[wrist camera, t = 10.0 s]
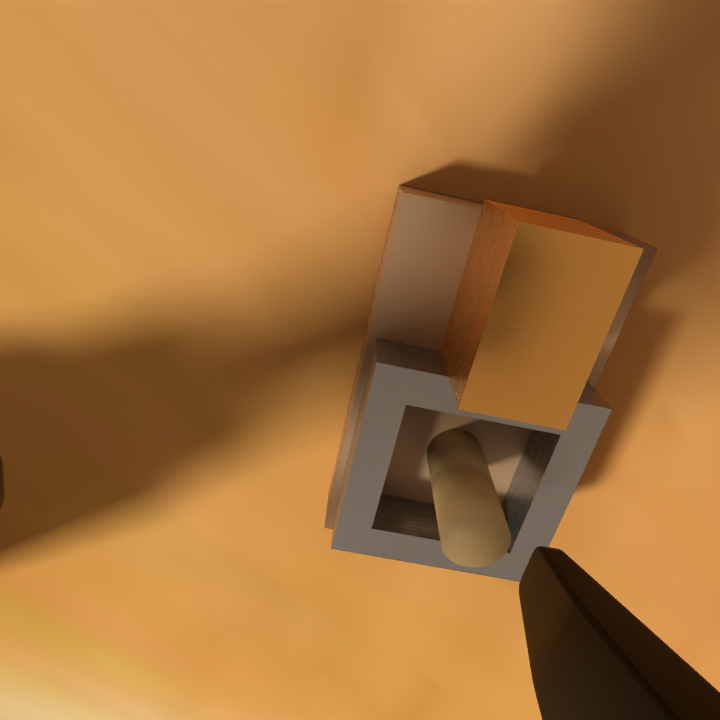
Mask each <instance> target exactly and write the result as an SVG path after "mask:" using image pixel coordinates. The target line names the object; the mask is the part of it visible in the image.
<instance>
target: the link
mask: <svg viewBox="0 0 720 720" xmlns="http://www.w3.org/2000/svg"><path fill="white" fill-rule="evenodd" d="M643 250H644V249H643V248H641V247H638V246H636V245H634V244H632V243H630V242H627V241H625V240H623V239H621V238H618V237H616V236H614V235H612V234H610V233H607V232H605V231H603V230H601V229H599V228H596V227H594V226H592V225H590V224H588V223H585V222H583V221H581V220H576V219H572V218H567V217H563V216H558V215H554V214H549V213H545V212H540V211H536V210H531V209H527V208H522V207H518V206H513V205H509V204H504V203H500V202H495V201H491V200H486V199H485V201H484V204H483V207H482V211H481V214H480V218H479V221H478V224H477V228H476V231H475V234H474V238H473V241H472V245H471V248H470V251H469V255H468V258H467V262H466V265H465V268H464V272H463V275H462V279H461V282H460V285H459V289H458V292H457V295H456V299H455V302H454V306H453V309H452V312H451V316H450V319H449V323H448V326H447V329H446V333H445V336H444V340H443V343H442V346H441V350H440V351H439V350H434V349H429V348H424V347H419V346H414V345H410V344H405V343H400V342H395V341H390V340H385V339H380V338H376V340H375V344H374V348H373V353H372V357H371V361H370V365H369V369H368V374H367V378H366V382H365V386H364V390H363V395H362V399H361V403H360V407H359V411H358V416H357V420H356V424H355V428H354V432H353V437H352V441H351V445H350V449H349V453H348V458H347V462H346V466H345V470H344V474H343V479H342V483H341V487H340V491H339V495H338V500H337V504H336V508H335V514H334V525H333V535H332V545H331V549H336V550H342V551H348V552H353V553H359V554H365V555H370V556H376V557H382V558H387V559H393V560H399V561H404V562H410V563H416V564H422V565H427V566H433V567H439V568H444V569H450V570H456V571H461V572H467V573H473V574H479V575H484V576H490V577H496V578H501V579H507V580H513V581H518V582H520V580H521V577H522V575H523V573H524V571H525V568H526V566H527V564H528V562H529V560H530V557H531V555H532V553H533V551H534V549H535V548H537V547H539V546H544V547H549V545H550V543H551V540H552V538H553V536H554V534H555V532H556V530H557V527H558V525H559V523H560V521H561V519H562V517H563V515H564V512H565V510H566V508H567V506H568V504H569V502H570V499H571V497H572V495H573V493H574V491H575V489H576V486H577V484H578V482H579V480H580V478H581V476H582V474H583V471H584V469H585V467H586V465H587V463H588V461H589V458H590V456H591V454H592V452H593V450H594V448H595V446H596V443H597V441H598V439H599V437H600V435H601V433H602V430H603V428H604V426H605V424H606V422H607V420H608V418H609V415H610V413H611V411H612V409H611V407H610V406H609V405H608V404H607V403H606V402H605V400H604V399H603V398H602V397H601V396H600V394H599V393H598V392H597V391H596V390H595V389H594V387H593V386H592V385H591V384H590V383H589V381H587V380H588V377H589V375H590V373H591V371H592V368H593V366H594V364H595V361H596V359H597V357H598V354H599V352H600V350H601V347H602V345H603V343H604V340H605V338H606V336H607V333H608V331H609V329H610V326H611V324H612V322H613V319H614V317H615V315H616V312H617V310H618V308H619V305H620V303H621V301H622V298H623V296H624V294H625V292H626V289H627V287H628V285H629V282H630V280H631V278H632V275H633V273H634V271H635V268H636V266H637V264H638V261H639V259H640V257H641V254H642V252H643ZM406 405H410V406H415V407H421V408H426V409H431V410H436V411H441V412H446V413H451V414H456V415H462V416H467V417H472V418H477V419H482V420H487V421H492V422H497V423H503V424H508V425H513V426H518V427H523V428H528V429H532V431H531V433H530V436H529V438H528V441H527V443H526V446H525V448H524V451H523V453H522V456H521V458H520V461H519V463H518V466H517V468H516V471H515V473H514V476H513V478H512V481H511V483H510V486H509V488H508V491H507V493H506V496H505V498H504V501H503V503H502V506H501V507H502V510H503V513H504V516H505V519H506V522H507V525H508V527H509V530H510V533H511V544H510V547H509V549H508V551H507V552H506V554H505V555H504V556H503V557H502V558H501V559H499V560H498V561H496V562H494V563H492V564H490V565H487V566H483V567H465V566H461V565H458V564H456V563H454V562H452V561H451V560H450V559H449V558H448V557H447V556H446V555H445V554H444V552H443V550H442V546H441V540H440V534H439V528H438V522H437V516H436V510H435V504H434V503H429V502H423V501H418V500H413V499H407V498H402V497H396V496H391V495H385V494H381V493H382V489H383V486H384V482H385V478H386V475H387V471H388V468H389V464H390V461H391V457H392V453H393V450H394V446H395V443H396V439H397V435H398V432H399V428H400V425H401V421H402V417H403V414H404V410H405V407H406Z"/></svg>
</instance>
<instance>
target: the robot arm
mask: <svg viewBox="0 0 720 720" xmlns="http://www.w3.org/2000/svg"><path fill="white" fill-rule="evenodd" d="M4 496H5V490H4V474H3V461H2V458H1V456H0V509H1V507H2V505H3V501H4ZM519 596H520V603H521V609H522V616H523V622H524V629H525V635H526V642H527V648H528V655H529V661H530V668H531V673H532V679H533V684H534V688H535V693H536V697H537V701H538V705H539V709H540V712H541V716H542V720H720V692H719V691H718V690H717V689H715V688H714V687H713V686H712V685H711V684H710V683H709V682H708V681H707V680H705V679H704V678H703V677H702V676H701V675H700V674H699V673H698V672H697V671H695V670H694V669H693V668H692V667H691V666H690V665H689V664H688V663H687V662H685V661H684V660H683V659H682V658H681V657H680V656H679V655H678V654H677V653H675V652H674V651H673V650H672V649H671V648H670V647H669V646H668V645H667V644H665V643H664V642H663V641H662V640H661V639H660V638H659V637H658V636H657V635H655V634H654V633H653V632H652V631H651V630H650V629H649V628H648V627H647V626H645V625H644V624H643V623H642V622H641V621H640V620H639V619H638V618H637V617H635V616H634V615H633V614H632V613H631V612H630V611H629V610H628V609H627V608H625V607H624V606H623V605H622V604H621V603H620V602H619V601H618V600H617V599H615V598H614V597H613V596H612V595H611V594H610V593H609V592H608V591H607V590H605V589H604V588H603V587H602V586H601V585H600V584H599V583H598V582H597V581H595V580H594V579H593V578H592V577H591V576H590V575H589V574H588V573H587V572H585V571H584V570H583V569H582V568H581V567H580V566H579V565H578V564H577V563H575V562H574V561H573V560H572V559H571V558H570V557H569V556H568V555H567V554H565V553H564V552H563V551H562V550H560V549H556V548H550V547H544V546H539V547H537V548H535V549H534V551H533V553H532V555H531V557H530V560H529V562H528V564H527V566H526V568H525V571H524V573H523V575H522V577H521V580H520V584H519Z"/></svg>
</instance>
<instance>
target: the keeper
mask: <svg viewBox="0 0 720 720" xmlns="http://www.w3.org/2000/svg"><path fill="white" fill-rule="evenodd" d="M482 207H483V204H482V203H478V202H473V201H469V200H464V199H460V198H455V197H451V196H446V195H442V194H437V193H433V192H428V191H424V190H419V189H415V188H410V187H406V186H401V185H399V189H398V193H397V198H396V202H395V206H394V211H393V215H392V219H391V224H390V228H389V233H388V237H387V241H386V246H385V250H384V254H383V259H382V263H381V268H380V272H379V276H378V281H377V285H376V289H375V294H374V298H373V303H372V307H371V311H370V316H369V320H368V324H367V329H366V333H365V338H364V342H363V346H362V351H361V355H360V360H359V364H358V368H357V373H356V377H355V381H354V386H353V390H352V395H351V399H350V403H349V408H348V412H347V416H346V421H345V425H344V430H343V434H342V438H341V443H340V447H339V451H338V456H337V460H336V465H335V469H334V473H333V478H332V482H331V487H330V491H329V495H328V504H327V512H326V521H325V528H329V529H333V525H334V514H335V508H336V504H337V500H338V495H339V491H340V487H341V483H342V479H343V474H344V470H345V466H346V462H347V458H348V453H349V449H350V445H351V441H352V437H353V432H354V428H355V424H356V420H357V416H358V411H359V407H360V403H361V399H362V395H363V390H364V386H365V382H366V378H367V374H368V369H369V365H370V361H371V357H372V353H373V348H374V344H375V340H376V338H380V339H385V340H390V341H395V342H400V343H405V344H410V345H414V346H419V347H424V348H429V349H434V350H439V351H440V350H441V346H442V343H443V340H444V336H445V333H446V329H447V326H448V323H449V319H450V316H451V312H452V309H453V306H454V302H455V299H456V295H457V292H458V289H459V285H460V282H461V279H462V275H463V272H464V268H465V265H466V262H467V258H468V255H469V251H470V248H471V245H472V241H473V238H474V234H475V231H476V228H477V224H478V221H479V218H480V214H481V211H482ZM603 231H604V230H603ZM605 232H607V233H610V234H612V235H614V236H616V237H618V238H621V239H623V240H625V241H627V242H630V243H632V244H634V245H636V246H638V247H641V248H643V249H644V250H643V252H642V254H641V257H640V259H639V261H638V264H637V266H636V268H635V271H634V273H633V275H632V278H631V280H630V282H629V285H628V287H627V289H626V292H625V294H624V296H623V298H622V301H621V303H620V305H619V308H618V310H617V312H616V315H615V317H614V319H613V322H612V324H611V326H610V329H609V331H608V333H607V336H606V338H605V340H604V343H603V345H602V347H601V350H600V352H599V354H598V357H597V359H596V361H595V364H594V366H593V368H592V371H591V373H590V375H589V377H588V380H587V381H589V383H590V384H591V385H592V386H593V387H594V389H595V388H596V386H597V384H598V381H599V379H600V377H601V374H602V372H603V370H604V368H605V365H606V363H607V361H608V359H609V356H610V354H611V352H612V350H613V347H614V345H615V343H616V340H617V338H618V336H619V334H620V331H621V329H622V327H623V325H624V322H625V320H626V318H627V315H628V313H629V311H630V309H631V306H632V304H633V302H634V300H635V297H636V295H637V293H638V290H639V288H640V286H641V284H642V281H643V279H644V277H645V275H646V272H647V270H648V268H649V266H650V263H651V261H652V259H653V256H654V254H655V252H656V250H657V248H655V247H653V246H650V245H648V244H646V243H643V242H641V241H639V240H636V239H634V238H632V237H629V236H626V235H622V234H617V233H613V232H608V231H605ZM531 431H532V429H528V428H523V427H518V426H513V425H508V424H503V423H497V422H492V421H487V420H482V419H477V418H472V417H467V416H462V415H456V414H451V413H446V412H441V411H436V410H431V409H426V408H421V407H415V406H410V405H406V407H405V410H404V414H403V417H402V421H401V425H400V428H399V432H398V435H397V439H396V443H395V446H394V450H393V453H392V457H391V461H390V464H389V468H388V471H387V475H386V478H385V482H384V486H383V489H382V493H381V494H385V495H391V496H396V497H402V498H407V499H413V500H418V501H423V502H429V503H434V504H435V510H436V516H437V522H438V528H439V534H440V540H441V546H442V550H443V552H444V554H445V555H446V556H447V557H448V558H449V559H450V560H451V561H452V562H454V563H456V564H458V565H461V566H465V567H483V566H487V565H490V564H492V563H494V562H496V561H498V560H499V559H501V558H502V557H503V556H504V555H505V554H506V552H507V551H508V549H509V547H510V544H511V533H510V530H509V527H508V525H507V522H506V519H505V516H504V513H503V510H502V507H501V506H502V503H503V501H504V498H505V496H506V493H507V491H508V488H509V486H510V483H511V481H512V478H513V476H514V473H515V471H516V468H517V466H518V463H519V461H520V458H521V456H522V453H523V451H524V448H525V446H526V443H527V441H528V438H529V436H530V433H531Z"/></svg>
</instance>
